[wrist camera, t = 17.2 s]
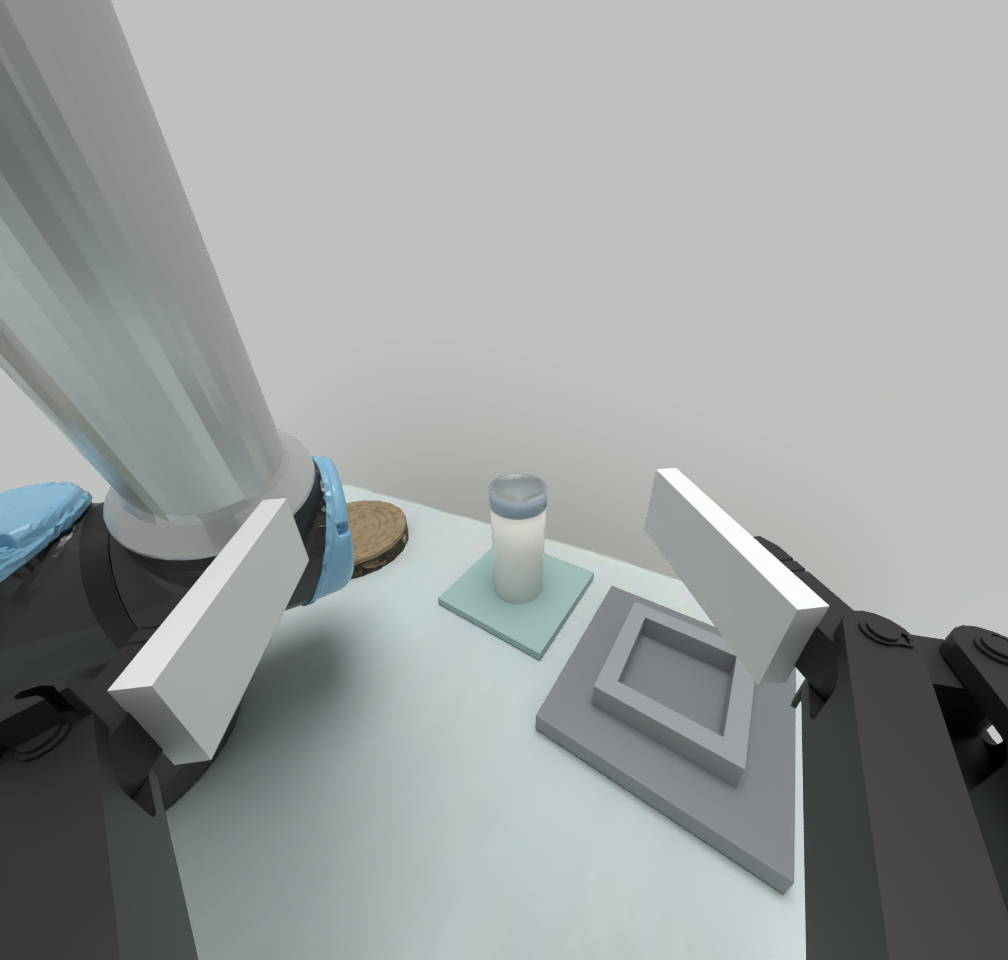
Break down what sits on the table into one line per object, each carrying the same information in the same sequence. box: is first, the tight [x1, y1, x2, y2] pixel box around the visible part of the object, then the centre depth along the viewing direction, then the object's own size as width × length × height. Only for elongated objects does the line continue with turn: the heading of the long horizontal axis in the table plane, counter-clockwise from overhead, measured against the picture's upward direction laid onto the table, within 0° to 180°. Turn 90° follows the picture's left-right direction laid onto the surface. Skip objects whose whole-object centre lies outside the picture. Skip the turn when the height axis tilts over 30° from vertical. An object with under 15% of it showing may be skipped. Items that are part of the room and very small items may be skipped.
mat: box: [438, 548, 594, 660], centre depth 47 cm, size 14×14×1 cm
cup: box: [489, 474, 547, 604], centre depth 43 cm, size 6×6×14 cm
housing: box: [536, 586, 796, 894], centre depth 34 cm, size 18×18×4 cm
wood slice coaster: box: [346, 501, 408, 579], centre depth 56 cm, size 16×16×3 cm
